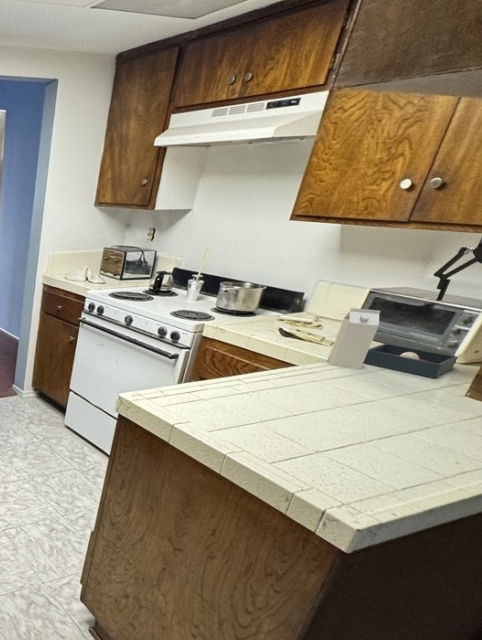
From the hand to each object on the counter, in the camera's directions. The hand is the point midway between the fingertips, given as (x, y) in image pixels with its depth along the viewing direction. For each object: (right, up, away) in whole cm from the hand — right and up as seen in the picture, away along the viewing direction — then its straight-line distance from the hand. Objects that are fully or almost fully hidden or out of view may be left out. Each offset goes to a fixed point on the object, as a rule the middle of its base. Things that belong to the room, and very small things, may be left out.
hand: (470, 303), depth 144 cm
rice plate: (-7, -18, +12) cm, 23 cm away
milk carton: (-27, -18, +13) cm, 35 cm away
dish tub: (-7, -19, +12) cm, 24 cm away
